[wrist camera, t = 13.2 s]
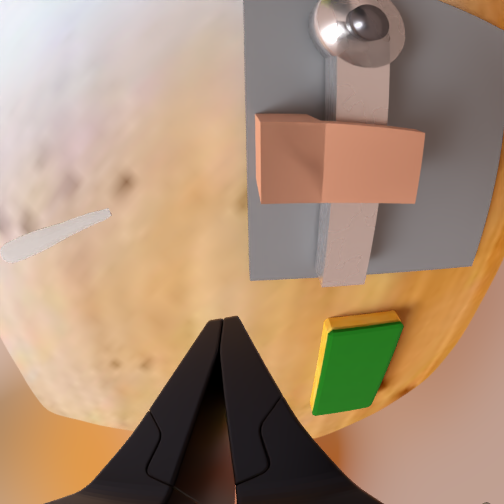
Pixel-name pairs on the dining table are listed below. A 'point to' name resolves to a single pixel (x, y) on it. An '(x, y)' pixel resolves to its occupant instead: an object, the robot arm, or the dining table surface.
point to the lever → (353, 116)
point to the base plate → (399, 115)
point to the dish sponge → (353, 360)
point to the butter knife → (49, 236)
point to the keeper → (335, 161)
